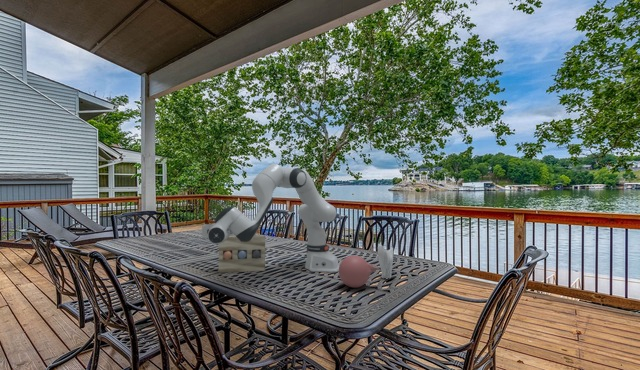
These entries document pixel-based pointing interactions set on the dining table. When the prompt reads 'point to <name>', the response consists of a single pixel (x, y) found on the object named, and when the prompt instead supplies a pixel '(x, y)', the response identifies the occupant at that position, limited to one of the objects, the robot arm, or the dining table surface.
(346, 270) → the pink bulb with spout
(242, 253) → the slate button
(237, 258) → the button panel
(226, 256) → the terracotta button
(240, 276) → the dining table surface
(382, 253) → the shell sculpture
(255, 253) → the charcoal button
